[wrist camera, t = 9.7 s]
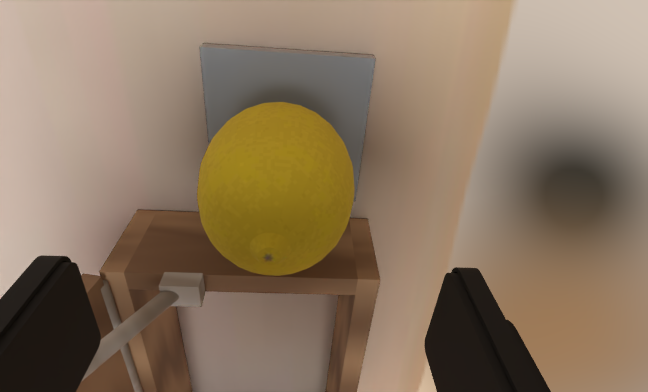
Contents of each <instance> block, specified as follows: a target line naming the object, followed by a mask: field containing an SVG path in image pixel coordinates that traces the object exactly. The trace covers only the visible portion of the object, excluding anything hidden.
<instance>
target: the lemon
mask: <svg viewBox="0 0 648 392" xmlns="http://www.w3.org/2000/svg"><path fill="white" fill-rule="evenodd" d="M354 190H355V188H354V175H353V166H352V162H351V159H350V157H349V154H348V151H347V149H346V146H345V144H344V142H343V140H342V139H341V137H340V136H339V135H338V133H337V132H336V131H335V129H334V128H333V127H332V125H331V124H330V123H328V122H327V121H326V120H325V119H323V118H322V117H321V116H320V115H318V114H317V113H316V112H314V111H312V110H309V109H307V108H305V107H303V106H301V105H296V104H291V103H286V102H270V103H262V104H259V105H256V106H253V107H249V108H247V109H245V110H243V111H242V112H240V113H239V114H237V115H235V116H234V117H232V118H231V119H230V120H228V121H227V122H226V123H225V125H224V126H223V127H222V128H221V129H220V130H219V131H218V132H217V134H216V135H215V136H214V137H213V138H212V140H211V142H210V144H209V146H208V149H207V151H206V153H205V155H204V157H203V160H202V162H201V166H200V171H199V180H198V189H197V201H198V207H199V213H200V218H201V222H202V225H203V228H204V230H205V232H206V234H207V236H208V238H209V240H210V241H211V243H212V244H213V246H214V247H215V248H216V249H217V250H218V251H219V252H220V253H221V254H222V255H223V256H224V257H225V258H226V259H228V260H229V261H231V262H232V263H234V264H235V265H237V266H238V267H240V268H243V269H245V270H247V271H250V272H253V273H257V274H262V275H274V276H280V275H287V274H293V273H296V272H299V271H302V270H304V269H307V268H309V267H311V266H313V265H314V264H316V263H317V262H319V261H321V260H322V259H323V258H324V257H325V256H326V255H327V254H328V253H329V252H330V251H331V250H332V249H333V248H334V247H335V246H336V245H337V243H338V241H339V240H340V238H341V236H342V234H343V233H344V231H345V229H346V227H347V224H348V222H349V218H350V214H351V209H352V205H353V200H354Z"/></svg>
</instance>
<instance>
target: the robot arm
mask: <svg viewBox="0 0 648 392" xmlns="http://www.w3.org/2000/svg"><path fill="white" fill-rule="evenodd" d="M100 341H101V334H100V331H99V328H98V325H97V322H96V319H95V316H94V313H93V310H92V307H91V304H90V301H89V298H88V295H87V292H86V289H85V286H84V283H83V280H82V277H81V274H80V271H79V268H78V266H77V264H76V263H73V262H71V260H70V259H69V258H68V257H66V256H39V257H37V258H36V259H35V260H34V261H33V262H32V263H31V264H30V266H29V267H28V268H27V269H26V270H25V271H24V273H23V274H22V275H21V276H20V277H19V278H18V279H17V281H16V282H15V283H14V284H13V285H12V286H11V287H10V289H9V290H8V291H7V292H6V293H5V294H4V295H3V297H2V298H1V299H0V392H76V391H77V389H78V387H79V385H80V383H81V381H82V379H83V377H84V375H85V373H86V372H87V370H88V368H89V366H90V364H91V362H92V360H93V358H94V356H95V354H96V352H97V350H98V348H99V345H100ZM425 352H426V356H427V359H428V362H429V366H430V369H431V373H432V376H433V379H434V383H435V386H436V389H437V392H551V391H550V389H549V388H548V386H547V384H546V382H545V380H544V378H543V377H542V375H541V373H540V371H539V369H538V368H537V366H536V364H535V362H534V360H533V359H532V357H531V355H530V353H529V351H528V350H527V348H526V346H525V344H524V342H523V340H522V339H521V337H520V335H519V333H518V331H517V330H516V328H515V327H514V325H513V324H512V323H511V322H510V321H509V320H506V319H505V317H504V315H503V313H502V312H501V310H500V308H499V306H498V304H497V302H496V300H495V299H494V297H493V295H492V293H491V291H490V290H489V287H488V286H487V284H486V282H485V280H484V278H483V276H482V274H481V273H480V271H479V270H478V269H477V268H454V269H453V270H452V272H451V273H447V274H446V275H445V277H444V281H443V284H442V287H441V290H440V293H439V297H438V300H437V303H436V306H435V309H434V312H433V316H432V319H431V322H430V325H429V328H428V331H427V335H426V338H425Z"/></svg>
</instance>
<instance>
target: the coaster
mask: <svg viewBox="0 0 648 392" xmlns="http://www.w3.org/2000/svg"><path fill="white" fill-rule="evenodd" d="M200 58H201V68H202V79H203V89H204V100H205V110H206V121H207V131H208V142H209V144H210V142H211V140H212V138H213V137H214V136H215V135H216V134H217V132H218V131H219V130H220V129H221V128H222V127H223V126H224V125H225V123H226V122H227V121H228V120H230V119H231V118H232V117H234V116H235V115H237V114H239V113H240V112H242V111H243V110H245V109H247V108H249V107H253V106H256V105H259V104H262V103H270V102H286V103H291V104H296V105H301V106H303V107H305V108H307V109H309V110H312V111H314V112H316V113H317V114H318V115H320V116H321V117H322V118H323V119H325V120H326V121H327V122H328V123H330V124H331V125H332V127H333V128H334V129H335V131H336V132H337V133H338V135H339V136H340V137H341V139H342V140H343V142H344V144H345V146H346V149H347V151H348V154H349V157H350V159H351V162H352V166H353V175H354V188H355V190H354V200H353V201H355V200H356V193H357V186H358V179H359V172H360V165H361V158H362V151H363V144H364V137H365V129H366V122H367V115H368V108H369V101H370V94H371V87H372V80H373V73H374V66H375V57H374V55H367V54H352V53H338V52H323V51H308V50H294V49H279V48H264V47H250V46H235V45H220V44H206V43H203V44H202V45H201V46H200Z"/></svg>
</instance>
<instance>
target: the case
mask: <svg viewBox="0 0 648 392" xmlns="http://www.w3.org/2000/svg"><path fill="white" fill-rule="evenodd" d="M99 273H100V276H95V275H89V274H82V275H81V277H82V280H83V283H84V286H85V289H86V292H87V295H88V298H89V301H90V304H91V307H92V310H93V313H94V316H95V319H96V322H97V325H98V328H99V331H100V334H101V341H100V345H99V348H98V350H97V352H96V354H95V356H94V358H93V360H92V362H91V364H90V366H89V368H88V370H87V372H86V373H85V375H84V377H83V379H82V381H81V383H80V385H79V387H78V389H77V391H76V392H192V387H191V382H190V377H189V372H188V367H187V361H186V356H185V351H184V346H183V341H182V335H181V330H180V325H179V320H178V315H177V310H176V306H183V307H201V306H202V303H203V299H204V296H205V291H217V292H255V293H294V294H332V295H339V296H338V304H337V311H336V319H335V326H334V333H333V341H332V348H331V356H330V363H329V370H328V378H327V385H326V392H357V388H358V383H359V378H360V373H361V369H362V364H363V359H364V355H365V350H366V345H367V340H368V336H369V331H370V326H371V321H372V317H373V312H374V307H375V303H376V298H377V293H378V288H379V284H380V276H379V271H378V267H377V262H376V257H375V252H374V247H373V243H372V238H371V233H370V228H369V223H368V219H358V218H349V222H348V224H347V227H346V229H345V231H344V233H343V234H342V236H341V238H340V240H339V241H338V243H337V245H336V246H335V247H334V248H333V249H332V250H331V251H330V252H329V253H328V254H327V255H326V256H325V257H324V258H323V259H322V260H321V261H319V262H317V263H316V264H314V265H313V266H311V267H309V268H307V269H304V270H302V271H299V272H296V273H293V274H287V275H280V276H274V275H262V274H257V273H253V272H250V271H247V270H245V269H243V268H240V267H238V266H237V265H235V264H234V263H232V262H231V261H229V260H228V259H226V258H225V257H224V256H223V255H222V254H221V253H220V252H219V251H218V250H217V249H216V248H215V247H214V246H213V244H212V243H211V241H210V240H209V238H208V236H207V234H206V232H205V230H204V228H203V225H202V222H201V218H200V213H199V212H180V211H155V210H137V211H136V213H135V215H134V216H133V218H132V220H131V221H130V223H129V224H128V226H127V228H126V229H125V231H124V232H123V234H122V236H121V237H120V239H119V241H118V242H117V244H116V245H115V247H114V249H113V250H112V252H111V254H110V255H109V257H108V258H107V260H106V262H105V263H104V265H103V267H102V268H101V270H100V271H99Z"/></svg>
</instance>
